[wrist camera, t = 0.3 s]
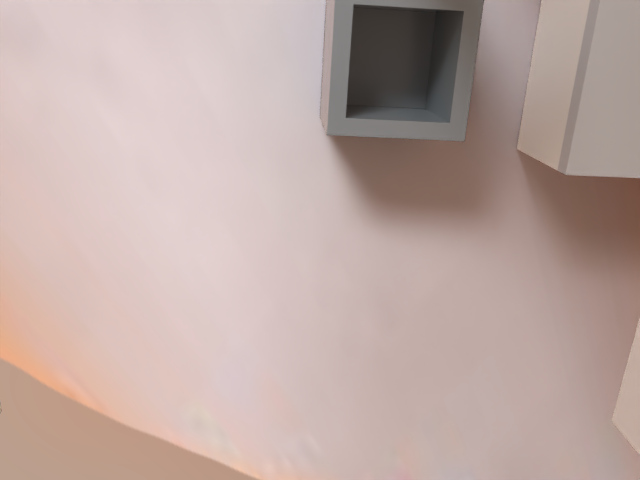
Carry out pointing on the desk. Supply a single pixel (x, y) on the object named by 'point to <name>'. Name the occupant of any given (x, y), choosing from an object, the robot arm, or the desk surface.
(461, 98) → the pen cup
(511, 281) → the desk surface
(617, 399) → the robot arm
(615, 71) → the white box
